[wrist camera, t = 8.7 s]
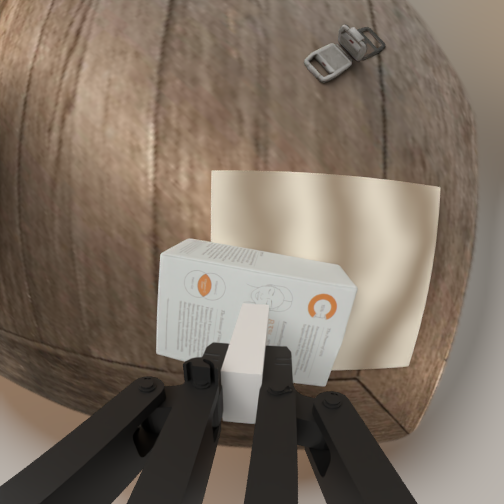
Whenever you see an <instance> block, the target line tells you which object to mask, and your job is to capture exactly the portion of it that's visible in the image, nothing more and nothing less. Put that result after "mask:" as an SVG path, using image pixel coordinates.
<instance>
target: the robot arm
mask: <svg viewBox="0 0 504 504" xmlns="http://www.w3.org/2000/svg"><path fill="white" fill-rule="evenodd" d="M268 319H269V305H264V304H246V303H243V304H242V307H241V310H240V313H239V316H238V319H237V322H236V325H235V328H234V332H233V335H232V338H231V341H230V344H228V343H217V342H213V343H211V344H210V345H209V346H207V347H206V350H205V352H204V354H203V356H202V357H195V358H191V359H189V360H187V361H185V362H184V364H183V370H184V378H185V382H184V384H182V385H178V386H164V384H163V382H162V381H161V380H160V379H158V378H155V377H142V378H138V379H137V380H135V381H133V382H132V383H131V384H130V385H129V386H127V387H126V388H125V389H124V390H123V391H121V392H120V393H119V394H118V395H117V396H115V397H114V398H113V399H112V400H110V401H109V402H108V403H107V404H105V405H104V406H103V407H102V408H101V409H99V410H98V411H97V412H96V413H94V414H93V415H92V416H91V417H90V418H88V419H87V420H86V421H84V422H83V423H82V424H81V425H79V426H78V427H77V428H76V429H75V430H73V431H72V432H71V433H69V434H68V435H67V436H66V437H64V438H63V439H62V440H61V441H59V442H58V443H57V444H55V445H54V446H53V447H52V448H50V449H49V450H48V451H46V452H45V453H44V454H43V455H41V456H40V457H39V458H37V459H36V460H35V461H34V462H32V463H31V464H30V465H28V466H27V467H26V468H24V469H23V470H22V471H20V472H19V473H18V474H16V475H15V476H14V477H12V478H11V479H10V480H8V481H7V482H6V483H4V484H3V485H2V486H0V504H111V503H112V502H113V501H114V500H115V499H116V498H117V497H118V496H119V495H120V494H121V493H122V491H123V490H124V489H125V488H126V487H127V486H128V485H129V484H130V483H131V482H132V481H133V479H134V478H135V477H136V476H137V475H138V474H139V472H141V470H142V469H143V470H142V472H141V474H140V476H139V479H138V481H137V483H136V485H135V487H134V489H133V491H132V493H131V496H130V498H129V500H128V502H127V504H202V502H203V498H204V494H205V491H206V487H207V483H208V479H209V475H210V471H211V467H212V464H213V459H214V456H215V452H216V448H217V444H218V440H219V436H220V432H221V418H222V415H223V421H229V422H238V423H250V424H255V429H254V436H253V444H252V451H251V459H250V466H249V473H248V480H247V487H246V494H245V500H244V504H298V467H297V445H301V446H304V447H305V451H306V454H307V456H308V459H309V461H310V464H311V466H312V469H313V471H314V474H315V476H316V478H317V481H318V483H319V486H320V488H321V491H322V493H323V496H324V498H325V500H326V503H327V504H417V502H416V501H415V499H414V498H413V496H412V495H411V493H410V491H409V490H408V489H407V487H406V485H405V484H404V482H403V481H402V479H401V478H400V476H399V475H398V473H397V472H396V470H395V469H394V467H393V466H392V464H391V463H390V461H389V460H388V458H387V457H386V455H385V454H384V452H383V451H382V449H381V448H380V446H379V444H378V443H377V441H376V440H375V438H374V437H373V435H372V434H371V432H370V431H369V429H368V428H367V426H366V425H365V423H364V422H363V420H362V419H361V417H360V416H359V414H358V413H357V411H356V410H355V408H354V407H353V405H352V404H351V402H350V401H349V399H348V398H347V397H346V396H345V395H343V394H341V393H338V392H333V391H330V392H323V393H320V394H319V395H318V396H316V398H311V397H307V396H304V395H302V394H300V393H298V392H297V391H296V390H295V388H294V386H293V374H292V354H291V351H290V350H289V349H288V347H287V346H267V337H268Z"/></svg>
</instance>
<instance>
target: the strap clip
mask: <svg viewBox="0 0 504 504" xmlns="http://www.w3.org/2000/svg"><path fill="white" fill-rule="evenodd" d="M345 30H346V31H347V32H348V33H349V34H350V35H349V34H348V33H347V32H346V31H345ZM363 31H369V32H370V33H371V34H372V35H373V36H374V37H375V38H376V39H377V40H378V42H379V43H380V44H381V45H382V46H381V47H379V48H378V49H377V48H376V47H375V46H374V45H373V44H372V43H371V42H370V41H369V39H368V38H367V37H366V36H365V35H364V34H363V33H362V32H363ZM338 41H339V43H340V44H341V45H342V46H343V47H344V48H345V49H346V50H347V51H348V52H349V53H350V55H351V56H352V57H353V58H354V59H355V60H357V61H360V60H364V59H366V58H368V57H370V56H372V55H374V54H377V53H379V52H380V51H381V50H383V49H384V48H385V43H384V42H383V41H382V40H381V39H380V38H379V37H378V36H377V35H376V34H375V33H374V32H373V31H372V30H371V29H370V28H368V27H364V28H361V29H358V30H356V29H355V28H354V27H352V28H350V27H349V26H348V25H346V24H345V25H343V26H342V27H341V28H340V29H339V36H338ZM313 58H315V59H316V60H317V61H318V62H319V63H320V64H321V65H322V66H323V68H324V69H325V70H326V71H327V72H328V73H329V74H330V75H328V76H326V77H323V76H322V75H321V74H320V73H319V72H318V71H317V70H316V69H315V68H314V67H313V66H312V65H311V64H310V63H309V61H310V60H312V59H313ZM304 64H305V66H306V67H307V69H308V70H309V71H310V72H311V73H312V74H313V75H314V76H315V77H316V78H317V79H318V80H319V81H320V82H327V81H330V80H332V79H334V78H336V77H337V76H338V75H340V74H341V73H343V72H344V71H345V70H347V69H348V68H350V66H351V65H352V59H351V58H350V57H349V56H348V55H347V54H346V53H345V52H344V51H343V50H342V49H341V48H340V47H339V45H338V44H336V45H335V44H333V43H331V44H329V45H327V46H325V47H323V48H320V49H318V50H316V51H314V52H312V53H311V54H310V55H309V56H308V57H307V58H306V59H305V61H304Z"/></svg>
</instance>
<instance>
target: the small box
mask: <svg viewBox="0 0 504 504" xmlns="http://www.w3.org/2000/svg"><path fill="white" fill-rule="evenodd" d="M357 290H358V288H357V286H356V285H355V284H354V283H353V282H352V280H351V279H350V278H349V277H348V275H347V274H346V273H345V272H344V270H343V269H342V268H341V266H339V265H337V264H331V263H326V262H321V261H315V260H309V259H304V258H298V257H293V256H287V255H281V254H276V253H270V252H265V251H259V250H254V249H248V248H243V247H237V246H231V245H226V244H219V243H214V242H208V241H202V240H196V239H186V240H184V241H183V242H181V243H179V244H177V245H175V246H173V247H171V248H170V249H168V250H166V251H164V252H163V253H161V255H160V270H159V287H158V308H157V341H156V353H157V354H159V355H163V356H166V357H170V358H174V359H177V360H181V361H187V360H189V359H191V358H195V357H202V356H203V354H204V352H205V350H206V347H207V346H209V345H210V344H211V343H213V342H217V343H228V344H230V341H231V338H232V335H233V332H234V328H235V325H236V322H237V319H238V316H239V313H240V310H241V307H242V304H243V303H246V304H264V305H269V319H268V337H267V346H287V347H288V349H289V350H290V351H291V354H292V374H293V383H299V384H307V385H316V386H326V384H327V381H328V378H329V375H330V373H331V370H332V367H333V364H334V362H335V359H336V357H337V354H338V352H339V350H340V347H341V344H342V341H343V338H344V335H345V331H346V327H347V323H348V319H349V316H350V313H351V309H352V306H353V303H354V300H355V296H356V293H357Z"/></svg>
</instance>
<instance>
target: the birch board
mask: <svg viewBox="0 0 504 504" xmlns="http://www.w3.org/2000/svg"><path fill="white" fill-rule="evenodd" d="M439 202H440V187H435V186H429V185H422V184H415V183H408V182H401V181H393V180H384V179H376V178H366V177H356V176H345V175H332V174H318V173H302V172H280V171H231V170H223V171H212V179H211V242H214V243H219V244H226V245H231V246H237V247H243V248H248V249H254V250H259V251H265V252H270V253H276V254H281V255H287V256H293V257H298V258H304V259H309V260H315V261H321V262H326V263H331V264H337V265H339V266H341V268H342V269H343V270H344V272H345V273H346V274H347V275H348V277H349V278H350V279H351V280H352V282H353V283H354V284H355V285H356V286H357V288H358V290H357V293H356V296H355V300H354V303H353V306H352V309H351V313H350V316H349V319H348V323H347V327H346V331H345V335H344V338H343V341H342V344H341V347H340V350H339V352H338V354H337V357H336V359H335V362H334V364H333V367H332V370H360V369H379V368H393V367H405V366H409V363H410V360H411V356H412V353H413V350H414V346H415V343H416V339H417V336H418V332H419V328H420V324H421V320H422V316H423V312H424V308H425V303H426V298H427V293H428V288H429V283H430V278H431V272H432V266H433V259H434V252H435V245H436V237H437V227H438V216H439Z"/></svg>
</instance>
